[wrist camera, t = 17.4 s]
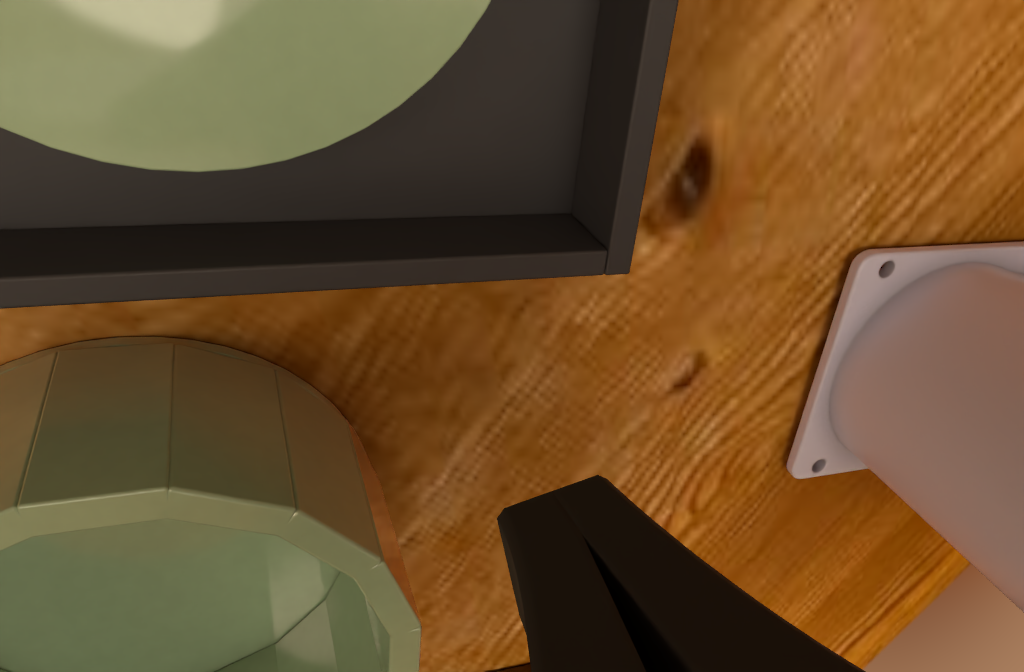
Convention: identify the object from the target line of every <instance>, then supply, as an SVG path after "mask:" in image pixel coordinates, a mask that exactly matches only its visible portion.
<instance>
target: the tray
mask: <svg viewBox="0 0 1024 672" xmlns="http://www.w3.org/2000/svg"><path fill="white" fill-rule="evenodd" d="M677 6H678V0H491V2H490V4H489V6H488V8H487V9H486V11H485V13H484V14H483V15H482V17H481V18H480V20H479V21H478V23H477V24H476V25H475V27H474V28H473V30H472V31H471V33H470V34H469V35H468V37H467V38H466V40H465V41H464V43H463V44H462V45H461V47H460V48H459V49H458V50H457V51H456V52H455V54H454V55H453V56H452V57H451V58H450V59H449V60H448V61H447V62H446V64H445V65H444V66H443V67H442V68H441V69H440V70H439V71H438V72H437V73H436V75H435V76H434V77H433V78H432V79H431V80H430V81H429V82H427V83H426V84H425V85H424V86H423V87H421V88H420V89H419V90H418V91H417V92H416V93H414V94H413V95H412V96H411V97H410V98H409V99H407V100H406V101H405V102H404V103H403V104H402V105H400V106H399V107H398V108H396V109H395V110H393V111H391V112H390V113H388V114H387V115H385V116H384V117H382V118H381V119H379V120H378V121H376V122H375V123H373V124H372V125H370V126H368V127H367V128H365V129H364V130H362V131H359V132H357V133H355V134H353V135H351V136H349V137H347V138H345V139H343V140H341V141H339V142H337V143H334V144H332V145H330V146H328V147H326V148H323V149H320V150H317V151H314V152H311V153H308V154H305V155H302V156H299V157H296V158H293V159H290V160H287V161H282V162H277V163H271V164H266V165H261V166H256V167H251V168H246V169H237V170H222V171H208V172H183V171H163V170H148V169H142V168H136V167H130V166H124V165H118V164H111V163H105V162H100V161H97V160H93V159H89V158H86V157H82V156H79V155H75V154H72V153H68V152H64V151H61V150H57V149H54V148H50V147H48V146H45V145H43V144H40V143H38V142H35V141H33V140H30V139H28V138H25V137H23V136H20V135H18V134H15V133H13V132H10V131H8V130H5V129H3V128H0V308H17V307H35V306H53V305H71V304H89V303H106V302H124V301H142V300H160V299H178V298H196V297H214V296H232V295H250V294H268V293H286V292H304V291H322V290H340V289H358V288H376V287H394V286H412V285H430V284H448V283H466V282H484V281H502V280H520V279H538V278H556V277H574V276H592V275H603V274H606V275H615V274H628V273H629V272H630V266H631V261H632V255H633V249H634V244H635V238H636V233H637V227H638V222H639V216H640V211H641V205H642V200H643V194H644V188H645V183H646V177H647V172H648V166H649V161H650V155H651V150H652V144H653V139H654V133H655V128H656V122H657V116H658V111H659V105H660V100H661V94H662V89H663V83H664V78H665V72H666V67H667V61H668V56H669V50H670V44H671V39H672V33H673V28H674V22H675V17H676V11H677Z"/></svg>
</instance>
